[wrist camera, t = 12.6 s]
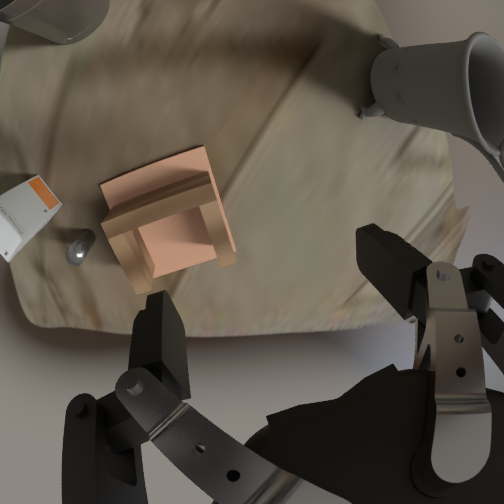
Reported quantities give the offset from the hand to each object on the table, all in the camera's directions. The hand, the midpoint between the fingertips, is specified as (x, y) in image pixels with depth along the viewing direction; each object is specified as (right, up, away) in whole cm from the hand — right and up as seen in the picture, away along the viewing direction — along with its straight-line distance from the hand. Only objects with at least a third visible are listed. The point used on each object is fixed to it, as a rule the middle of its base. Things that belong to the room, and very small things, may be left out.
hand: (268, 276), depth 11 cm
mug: (+20, +25, +22) cm, 39 cm away
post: (-23, +3, +23) cm, 33 cm away
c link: (-11, +5, +25) cm, 27 cm away
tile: (-11, +6, +25) cm, 28 cm away
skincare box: (-29, +9, +19) cm, 36 cm away
